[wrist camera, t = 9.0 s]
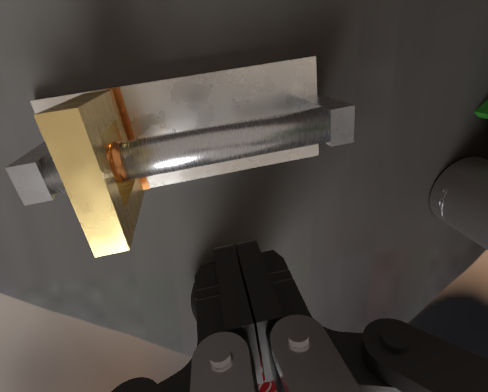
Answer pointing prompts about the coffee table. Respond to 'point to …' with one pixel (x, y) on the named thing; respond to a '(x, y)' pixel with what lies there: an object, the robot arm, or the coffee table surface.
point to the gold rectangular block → (93, 168)
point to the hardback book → (482, 110)
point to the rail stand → (204, 127)
